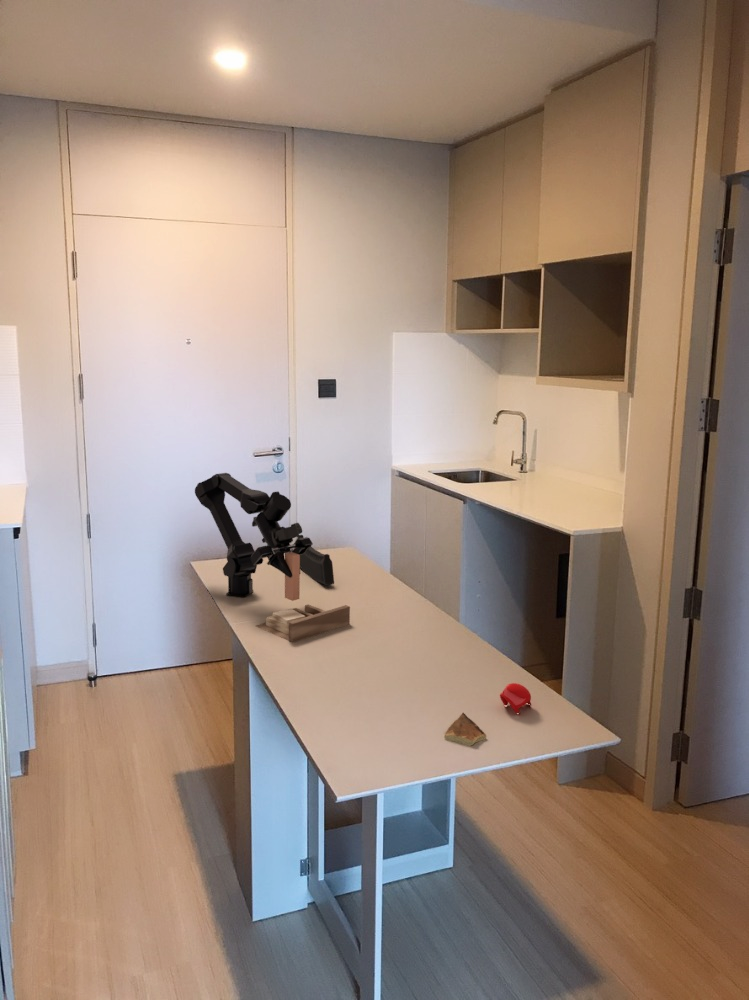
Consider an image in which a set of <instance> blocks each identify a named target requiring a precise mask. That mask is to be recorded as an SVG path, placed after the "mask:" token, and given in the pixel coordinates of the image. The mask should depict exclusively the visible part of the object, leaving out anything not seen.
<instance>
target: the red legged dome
mask: <svg viewBox="0 0 749 1000" xmlns="http://www.w3.org/2000/svg"><path fill="white" fill-rule="evenodd" d="M499 698H500V700H501V702H502V704H503V706H504V705H507V704H508V705H510V706H511V708H512V709H513V711H514V712H515V714H516V713H519V712H520V710H519V709H520V708H522V707H524V706H525V705H527V704H526V703H528V704H530V705H531V706H532V702H531V701H532V696H531V693H530V691H529V689H527V687H526V686H524V685H523V684H520V683H516V682H515V683H514V682H512V683H509V684H507V685H506V686H505V688H504V689H503V690H502V692H501V693H500V694H499ZM520 713H521V712H520Z"/></svg>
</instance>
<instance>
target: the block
mask: <svg viewBox="0 0 749 1000" xmlns="http://www.w3.org/2000/svg"><path fill="white" fill-rule="evenodd" d="M284 559H285V561H286V563H287V565H288V567H289V568H290V570H291V573H292V577H291V578H289V577H288V576H287V575H285V574H284V598H285V599H286V600H290V601H292V602H293V601H297V600H300V595H301V594H300V587H301V586H300V583H301V581H300V580H301V579H300V576H301V568H300V555H299V554H296V553H293V552H290V553H286V554H285V553H284Z"/></svg>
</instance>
